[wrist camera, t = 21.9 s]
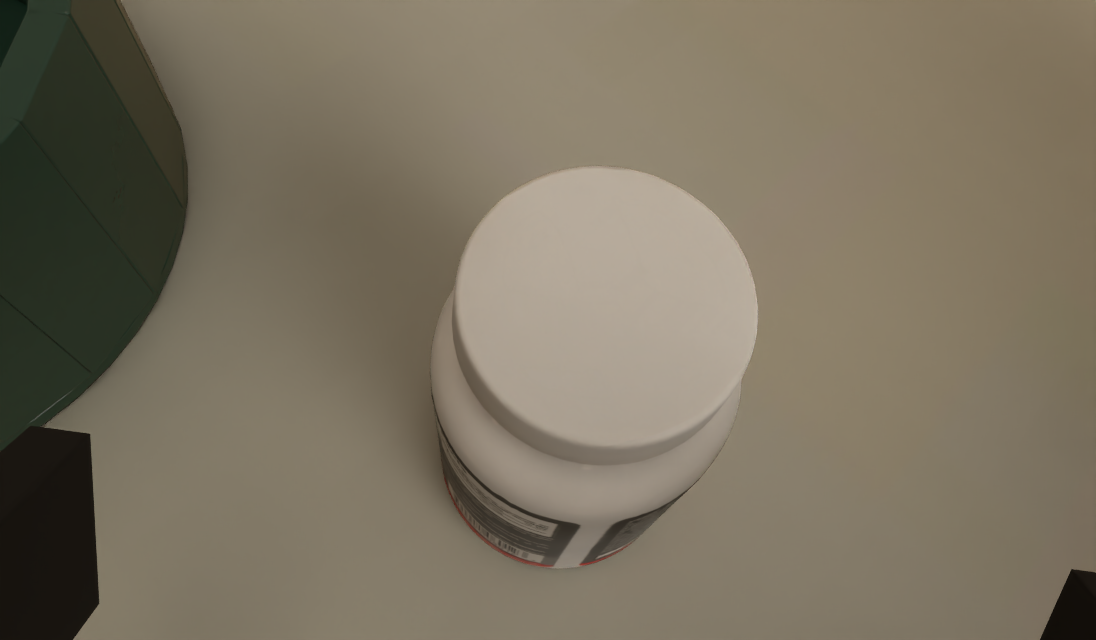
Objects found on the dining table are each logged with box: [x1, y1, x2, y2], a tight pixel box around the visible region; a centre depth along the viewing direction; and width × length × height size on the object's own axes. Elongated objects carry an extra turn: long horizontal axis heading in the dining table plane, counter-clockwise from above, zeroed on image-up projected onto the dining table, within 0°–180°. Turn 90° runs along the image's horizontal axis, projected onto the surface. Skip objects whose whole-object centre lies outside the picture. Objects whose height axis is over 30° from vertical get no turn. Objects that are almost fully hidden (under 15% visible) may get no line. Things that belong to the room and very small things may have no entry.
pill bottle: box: [430, 166, 758, 568], centre depth 18 cm, size 6×6×10 cm
